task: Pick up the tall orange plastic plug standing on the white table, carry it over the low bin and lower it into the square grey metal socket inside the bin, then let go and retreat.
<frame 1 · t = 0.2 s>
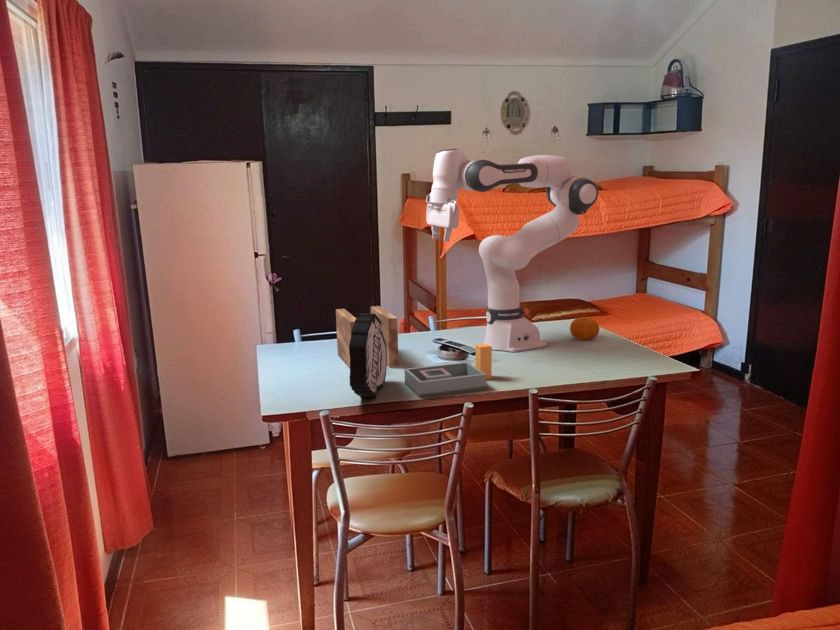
hand: (440, 240, 223), 39 cm above the table, tool pointing down, fingers open, 8 cm apart
wall sign: (370, 395, 188), on the table
socket: (435, 387, 193), resting on bin
fruit: (584, 339, 247), on the table
bookends: (367, 360, 223), on the table
connector: (483, 377, 202), on the table
bin: (444, 386, 194), on the table
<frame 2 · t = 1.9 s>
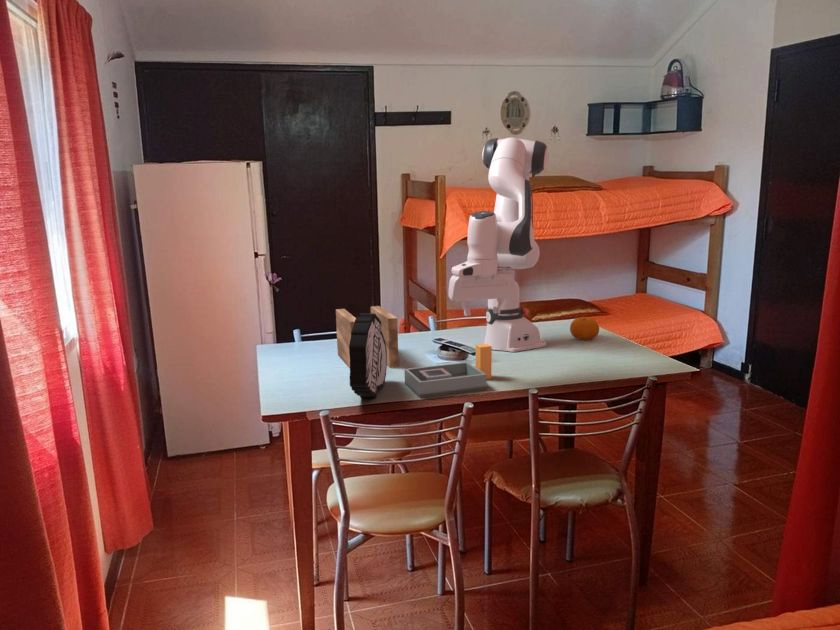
hand: (482, 314, 198), 20 cm above the table, tool pointing down, fingers open, 8 cm apart
nothing on the table moved.
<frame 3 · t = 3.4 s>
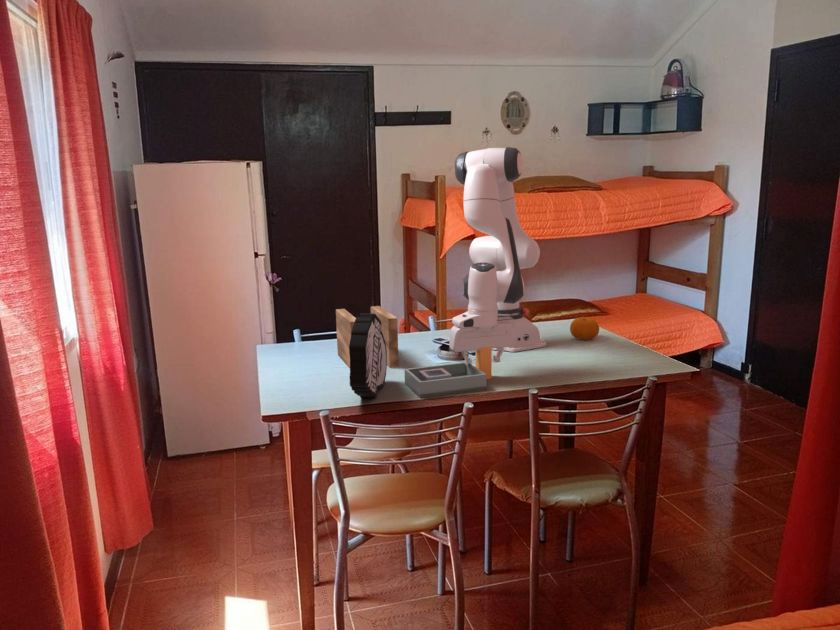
hand: (482, 363, 201), 4 cm above the table, tool pointing down, fingers open, 8 cm apart
nothing on the table moved.
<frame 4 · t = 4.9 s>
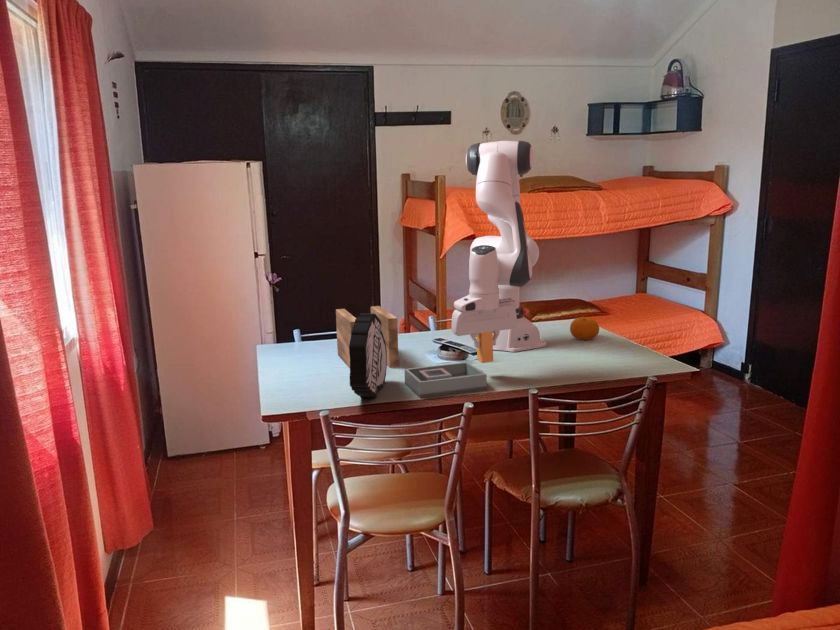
hand: (485, 346, 201), 10 cm above the table, tool pointing down, fingers closed on connector, 4 cm apart
connector: (485, 360, 202), point 5 cm above the table, touching gripper
everything else where it was.
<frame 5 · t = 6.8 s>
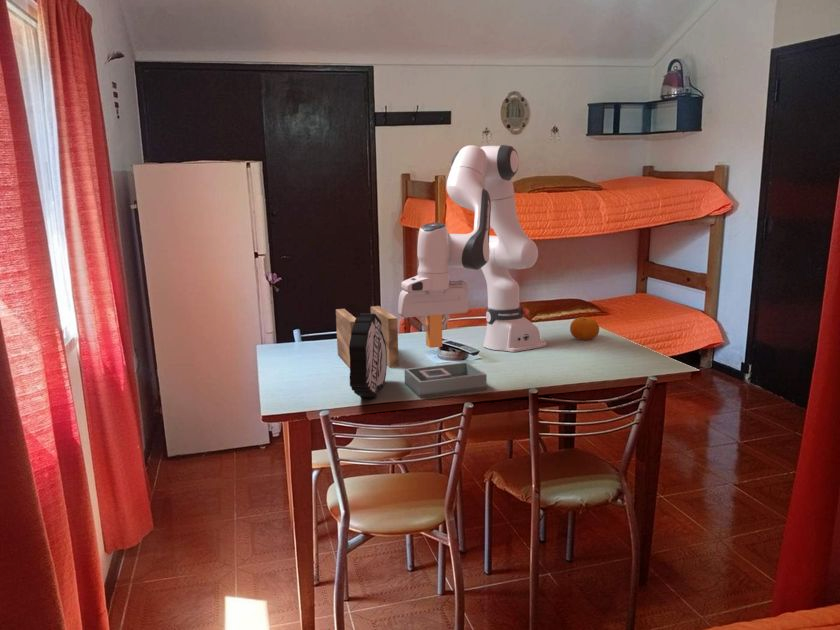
hand: (434, 330, 190), 17 cm above the table, tool pointing down, fingers closed on connector, 4 cm apart
connector: (434, 345, 191), point 13 cm above the table, touching gripper
everything else where it was.
when the fingers open (7 cm above the table, at t = 8.6 s): connector drops 1 cm, resting on bin.
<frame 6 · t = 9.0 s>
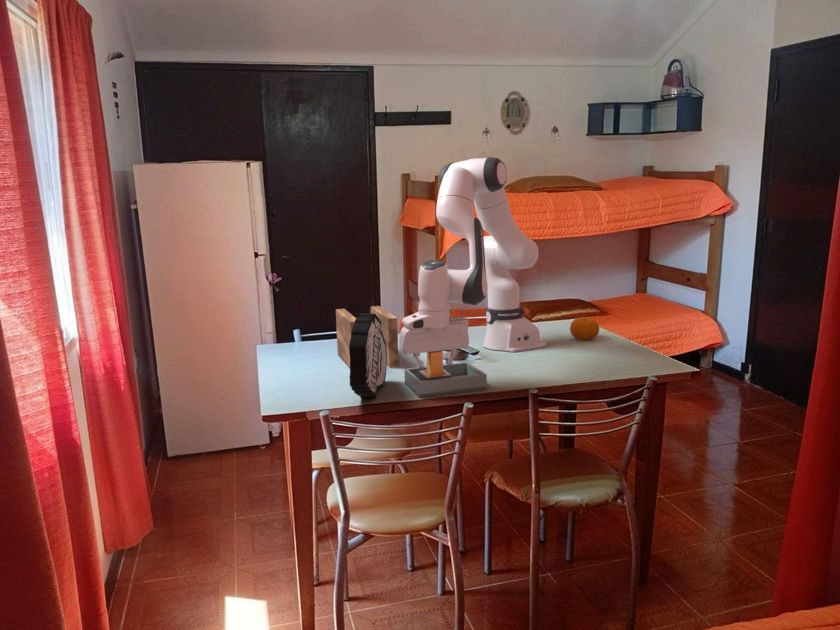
hand: (434, 365, 192), 7 cm above the table, tool pointing down, fingers open, 7 cm apart
connector: (435, 384, 193), point 1 cm above the table, touching bin
everything else where it was.
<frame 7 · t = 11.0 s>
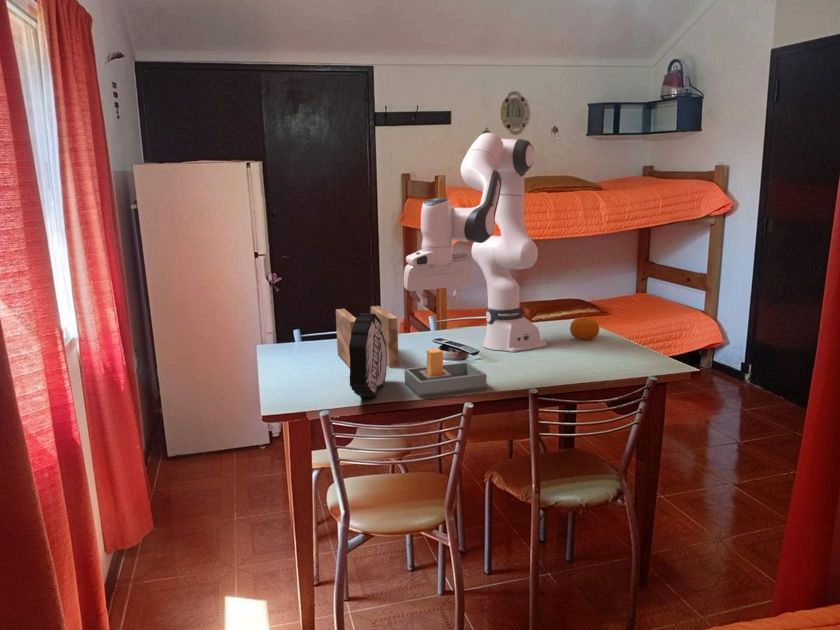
hand: (439, 303, 194), 24 cm above the table, tool pointing down, fingers open, 8 cm apart
nothing on the table moved.
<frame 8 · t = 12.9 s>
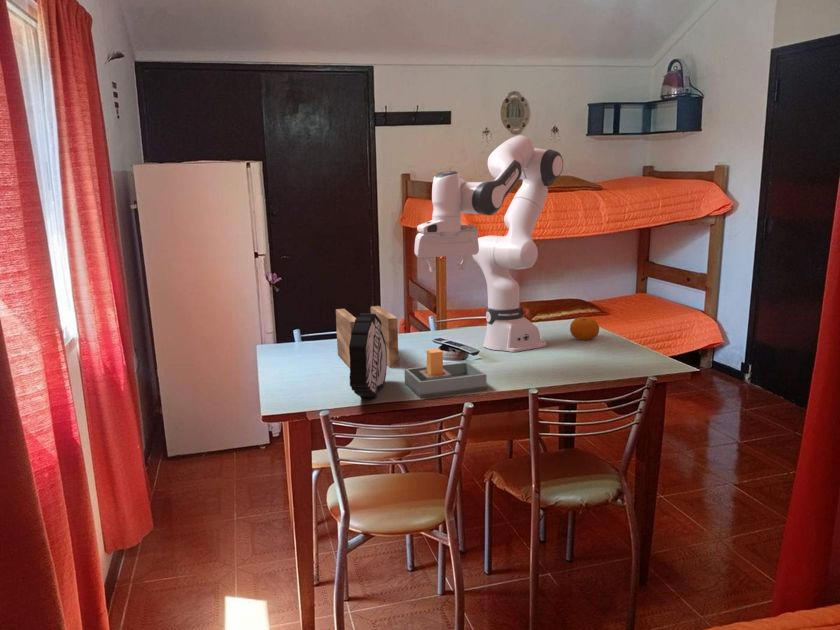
hand: (447, 270, 207), 31 cm above the table, tool pointing down, fingers open, 8 cm apart
nothing on the table moved.
at the end: connector 0.2 cm off-centre on the socket, point 1.0 cm above the socket's base; connector tilted 0°; the gripper is holding nothing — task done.
